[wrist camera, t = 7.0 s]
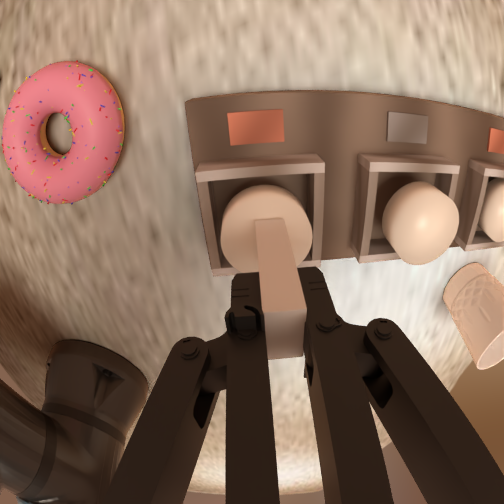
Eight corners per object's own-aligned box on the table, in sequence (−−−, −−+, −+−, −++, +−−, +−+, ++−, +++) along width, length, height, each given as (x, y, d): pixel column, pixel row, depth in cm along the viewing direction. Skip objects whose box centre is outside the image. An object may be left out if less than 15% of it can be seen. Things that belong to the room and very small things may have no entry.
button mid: (377, 251, 19) (388, 268, 17) (386, 181, 16) (402, 194, 14) (434, 245, 19) (448, 261, 17) (448, 181, 16) (466, 194, 14)
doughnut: (18, 77, 15) (-14, 84, 11) (133, 49, 16) (110, 44, 12) (32, 195, 21) (6, 216, 17) (138, 189, 22) (120, 213, 18)
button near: (227, 261, 19) (226, 280, 18) (217, 188, 16) (214, 203, 15) (304, 254, 19) (310, 273, 17) (305, 181, 16) (313, 195, 15)
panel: (214, 247, 24) (209, 287, 20) (192, 98, 18) (178, 105, 14) (484, 226, 24) (511, 252, 20) (504, 118, 18) (540, 133, 13)
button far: (469, 231, 20) (482, 244, 18) (482, 176, 17) (497, 186, 16) (502, 228, 20) (514, 240, 18) (515, 179, 17) (529, 189, 16)
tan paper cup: (442, 269, 27) (490, 335, 19) (491, 250, 26) (540, 305, 18) (434, 316, 31) (468, 379, 23) (480, 297, 30) (516, 351, 22)
